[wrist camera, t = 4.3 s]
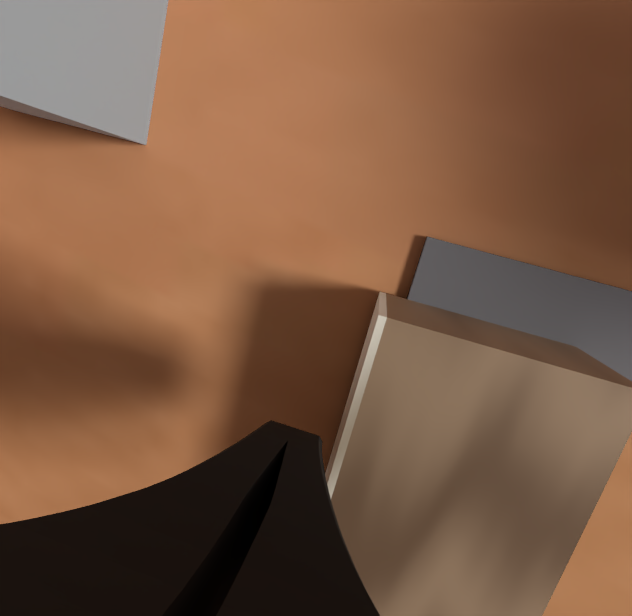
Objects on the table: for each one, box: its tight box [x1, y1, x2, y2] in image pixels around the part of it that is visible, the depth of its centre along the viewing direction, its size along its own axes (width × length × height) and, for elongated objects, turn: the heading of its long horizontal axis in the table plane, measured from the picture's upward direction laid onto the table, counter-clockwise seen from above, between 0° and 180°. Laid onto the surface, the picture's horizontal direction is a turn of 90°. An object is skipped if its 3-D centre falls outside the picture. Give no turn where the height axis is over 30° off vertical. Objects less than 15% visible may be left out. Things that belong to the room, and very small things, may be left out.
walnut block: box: [325, 292, 632, 616], centre depth 12 cm, size 8×4×6 cm
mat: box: [407, 237, 632, 381], centre depth 13 cm, size 12×7×1 cm, turn 165°
